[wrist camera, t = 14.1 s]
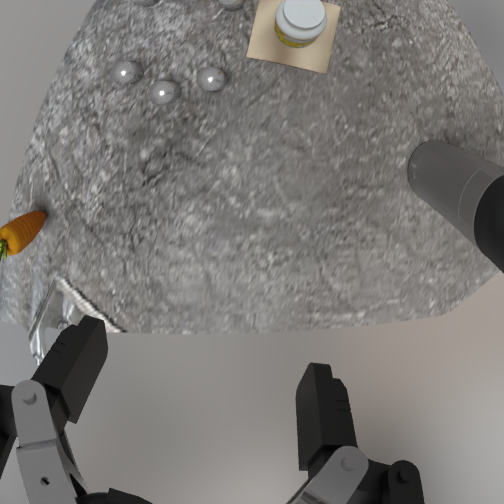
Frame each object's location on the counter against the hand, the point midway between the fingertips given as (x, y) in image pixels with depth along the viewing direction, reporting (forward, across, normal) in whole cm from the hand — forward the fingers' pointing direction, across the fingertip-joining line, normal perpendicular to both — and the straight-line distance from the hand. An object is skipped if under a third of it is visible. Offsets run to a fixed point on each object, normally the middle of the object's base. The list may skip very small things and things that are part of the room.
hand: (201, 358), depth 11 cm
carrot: (+33, +33, +13) cm, 49 cm away
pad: (+33, -2, -19) cm, 38 cm away
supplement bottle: (+33, -2, -19) cm, 38 cm away
